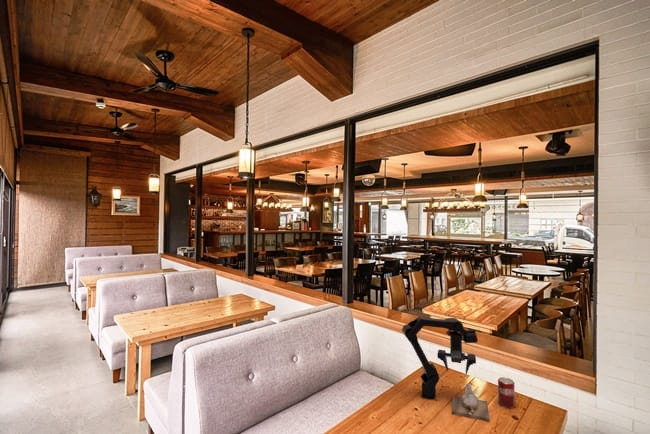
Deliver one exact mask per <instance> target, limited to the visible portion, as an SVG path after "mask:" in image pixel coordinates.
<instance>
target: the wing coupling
mask: <svg viewBox="0 0 650 434" xmlns="http://www.w3.org/2000/svg"><path fill="white" fill-rule="evenodd" d="M461 397H462V405H463V406H464V407H465V408H467V409H470V410H471V412H474V410H475V409H477V408H478V400H479V399H478V396H476V395H474V391H473V389H472V386H471V384H470V383H465V393H463V394H461Z"/></svg>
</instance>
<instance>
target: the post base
mask: <svg viewBox="0 0 650 434" xmlns="http://www.w3.org/2000/svg"><path fill="white" fill-rule="evenodd" d="M451 403H452V405H451V406H452V408H451V414H452V415H455V416H459V417H464V418H469V419H474V420H479V421H484V422H488V423H490V413H489V405H488V401H487V400H482V399H478V408H477V409H475V410H474V412H471V410H470V409H467V408H465V407H464V406H463V405H462V395H455V394H453V395H452V402H451Z"/></svg>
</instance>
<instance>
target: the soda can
mask: <svg viewBox="0 0 650 434" xmlns="http://www.w3.org/2000/svg"><path fill="white" fill-rule="evenodd" d="M515 390H516V389H515V382H514V380H513V379H511V378H509V377H505V376H504V377H503V376H501V377H499V378H498V379H497V393H498V394H497V399H498V400H497V401H498V404H499V405H501V407H504V408H505V409H506V408H508V409H513V408H514V407H515V406H516V394H515V393H516V391H515Z"/></svg>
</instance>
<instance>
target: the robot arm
mask: <svg viewBox="0 0 650 434" xmlns="http://www.w3.org/2000/svg"><path fill="white" fill-rule="evenodd" d="M423 327H430V328H438V329H439V328H441V329H447V331H446V332H445V334H446V335H448V336H449V337H450V338H449V339H450V340H449V341H450V343H449V346H450V352H446V350H445V349H438V350H437V354H436V355H437V359H439V360H440V361H442V362H443V365H444V366H445V367H444V368H445V370H446V372H448V371H449V366H448V359H447V358H450V360H451V362H452V363H458V364H461V363H462V362H465V363H466V364H465V375H467V374H468V371H469V369H470V367H471V365H475V364H477V356H476V354H474V353H467V354H466V353H465V352H463V342H464V344H477V343H478V341H479V340H478V336H477V333H476V330H475V329H465V328H464V324H463V322H461V321H460V320H459V319H458V318H455V317H447V318H445V319H443V318H442V319H441V318H432V317H424V316H423V317H422V316H417V317H416V318H415V319H413V320H411V321H410V322H409V323H408V322H407V324H404V325H403V326H402V328H401V332H402V333H403V335H404V336H405V337H406V339H407V341H408V342H409V343H410V345H411V346H412V348H413V350H414V351H415V353H416V356H417V358H418V359H419V361H420V363H421V365H422V370H423V373H422V374H421V375H420V379H421V381H422V382H421V398H423V399H428V400H435V398H436V397H437V384H438V382H439V381H440V373H439V372H438V370H437V367H436V366H435V365H434V363H430V361H429V360H428V358H427V355H426V354H425V352H424V350H423V349H422V347H421V345H420V343H419V339H418V335H417V334H418V333H420V332H421V330H422V329H423Z"/></svg>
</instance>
